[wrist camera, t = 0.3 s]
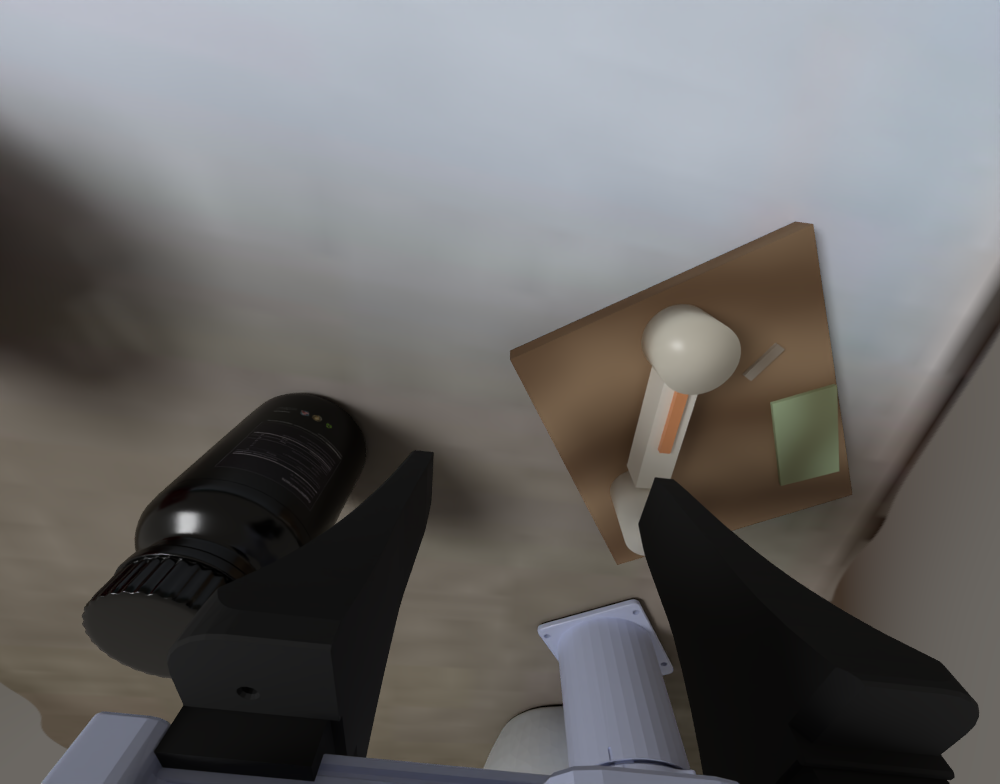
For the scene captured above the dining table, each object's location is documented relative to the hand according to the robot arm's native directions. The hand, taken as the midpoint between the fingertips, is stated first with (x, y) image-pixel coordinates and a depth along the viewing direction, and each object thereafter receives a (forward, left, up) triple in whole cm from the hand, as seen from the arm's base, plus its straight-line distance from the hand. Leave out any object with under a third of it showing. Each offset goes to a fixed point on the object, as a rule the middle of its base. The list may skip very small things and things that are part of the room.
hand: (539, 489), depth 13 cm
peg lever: (-5, -5, -8) cm, 10 cm away
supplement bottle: (+1, +13, -10) cm, 17 cm away
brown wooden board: (-7, -7, -10) cm, 13 cm away
